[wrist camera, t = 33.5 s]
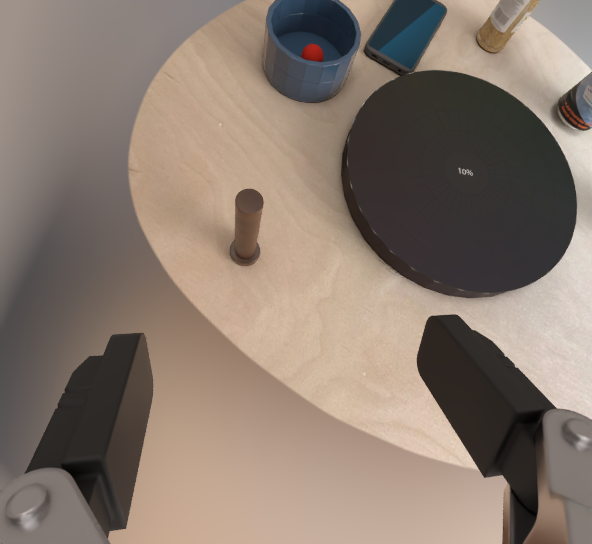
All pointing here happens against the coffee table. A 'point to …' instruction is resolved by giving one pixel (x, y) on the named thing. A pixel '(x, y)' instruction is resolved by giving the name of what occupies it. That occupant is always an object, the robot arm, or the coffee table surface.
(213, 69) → the coffee table surface
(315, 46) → the red ball
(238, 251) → the stick
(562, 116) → the beverage can
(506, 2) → the spice jar
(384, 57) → the smartphone
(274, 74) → the bowl
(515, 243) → the disc
